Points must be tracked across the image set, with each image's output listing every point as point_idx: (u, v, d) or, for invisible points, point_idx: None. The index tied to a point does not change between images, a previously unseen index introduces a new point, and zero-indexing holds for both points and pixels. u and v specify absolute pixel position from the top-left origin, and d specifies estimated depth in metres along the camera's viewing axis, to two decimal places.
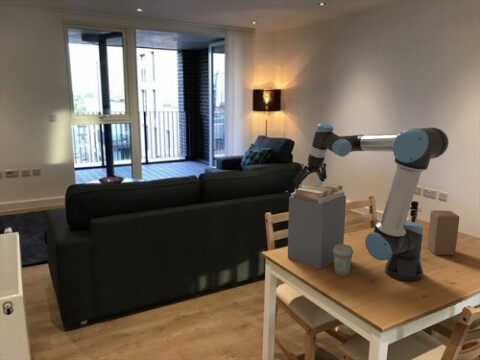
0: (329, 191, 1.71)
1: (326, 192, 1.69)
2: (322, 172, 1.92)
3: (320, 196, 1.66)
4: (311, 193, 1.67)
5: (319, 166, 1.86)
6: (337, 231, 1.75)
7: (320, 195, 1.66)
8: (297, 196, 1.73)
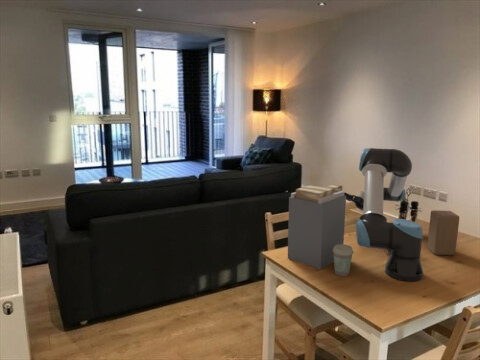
0: (329, 191, 1.71)
1: (326, 192, 1.69)
2: None
3: (320, 196, 1.66)
4: (311, 193, 1.67)
5: None
6: (337, 231, 1.75)
7: (320, 195, 1.66)
8: (297, 196, 1.73)
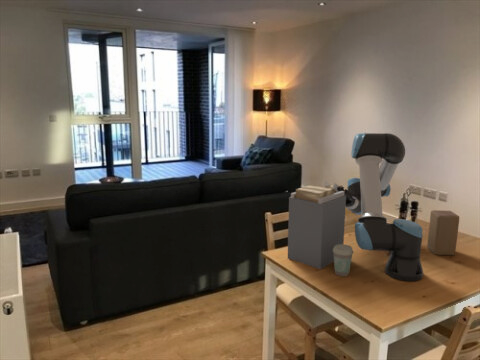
0: (329, 191, 1.71)
1: (326, 192, 1.69)
2: None
3: (320, 196, 1.66)
4: (311, 193, 1.67)
5: None
6: (337, 231, 1.75)
7: (320, 195, 1.66)
8: (297, 196, 1.73)
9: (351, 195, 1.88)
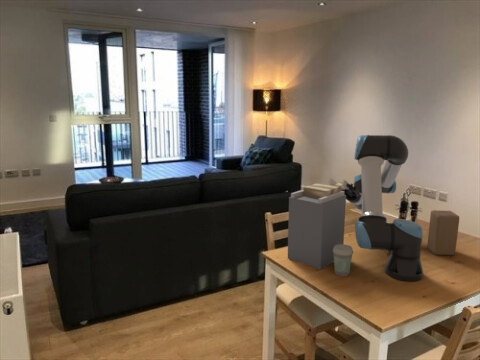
0: (336, 189, 1.76)
1: (333, 190, 1.74)
2: None
3: (327, 194, 1.70)
4: (318, 191, 1.72)
5: None
6: (337, 231, 1.75)
7: (327, 193, 1.70)
8: (305, 194, 1.77)
9: (358, 191, 1.92)
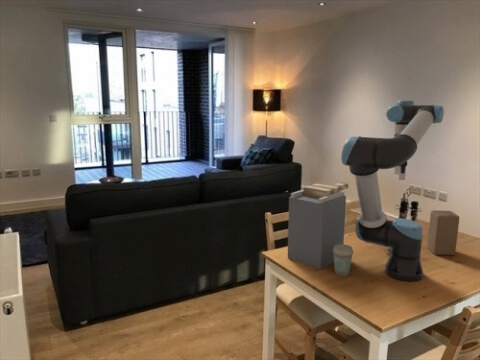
0: (336, 189, 1.76)
1: (333, 190, 1.74)
2: None
3: (327, 194, 1.70)
4: (318, 191, 1.72)
5: None
6: (337, 231, 1.75)
7: (327, 193, 1.70)
8: (305, 194, 1.77)
9: None
